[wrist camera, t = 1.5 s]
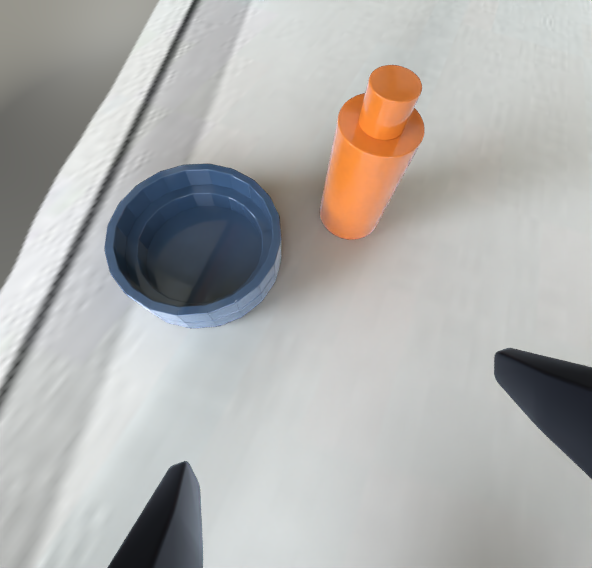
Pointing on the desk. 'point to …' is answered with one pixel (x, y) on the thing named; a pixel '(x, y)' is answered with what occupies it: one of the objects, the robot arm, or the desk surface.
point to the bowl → (195, 245)
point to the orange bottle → (371, 151)
